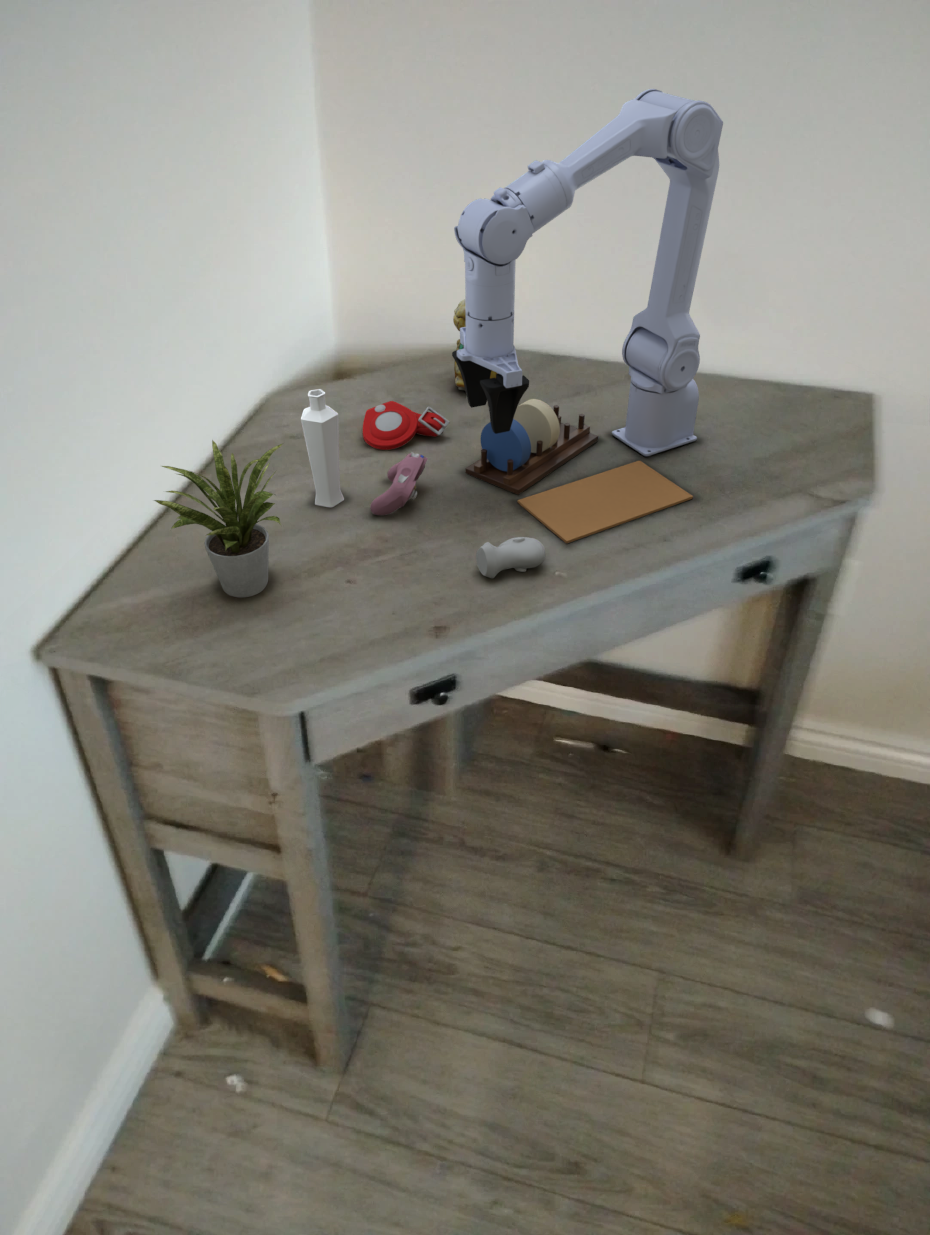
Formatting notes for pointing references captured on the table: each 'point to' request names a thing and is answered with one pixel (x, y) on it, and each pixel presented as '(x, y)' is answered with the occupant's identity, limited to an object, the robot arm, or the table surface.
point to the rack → (536, 459)
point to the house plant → (232, 524)
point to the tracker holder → (399, 425)
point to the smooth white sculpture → (510, 555)
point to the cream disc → (538, 423)
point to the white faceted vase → (323, 448)
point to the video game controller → (400, 484)
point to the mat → (603, 501)
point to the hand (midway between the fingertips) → (489, 418)
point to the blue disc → (506, 446)
